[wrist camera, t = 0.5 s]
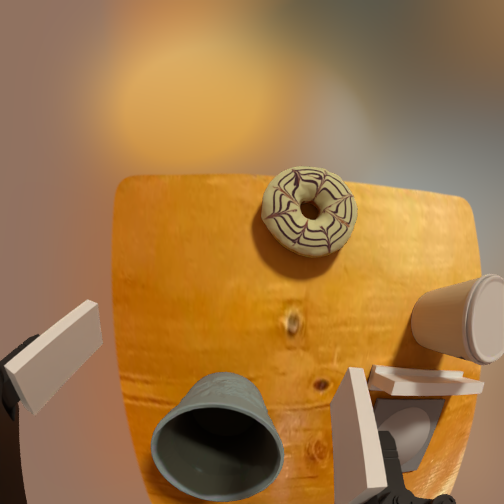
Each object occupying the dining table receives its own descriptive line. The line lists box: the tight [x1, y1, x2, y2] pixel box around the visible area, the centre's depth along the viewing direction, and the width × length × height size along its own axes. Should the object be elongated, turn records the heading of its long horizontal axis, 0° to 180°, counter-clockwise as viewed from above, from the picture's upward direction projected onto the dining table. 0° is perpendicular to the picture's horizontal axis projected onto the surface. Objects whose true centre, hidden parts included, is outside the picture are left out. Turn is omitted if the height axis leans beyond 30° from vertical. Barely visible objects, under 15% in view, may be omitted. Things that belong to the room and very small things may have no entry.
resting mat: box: [373, 398, 445, 472], centre depth 27 cm, size 12×12×1 cm
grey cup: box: [151, 372, 284, 502], centre depth 22 cm, size 10×10×12 cm
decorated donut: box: [261, 166, 357, 258], centre depth 31 cm, size 10×11×4 cm
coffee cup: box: [411, 274, 504, 365], centre depth 25 cm, size 9×9×12 cm
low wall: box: [367, 365, 484, 396], centre depth 26 cm, size 3×16×6 cm, turn 77°
